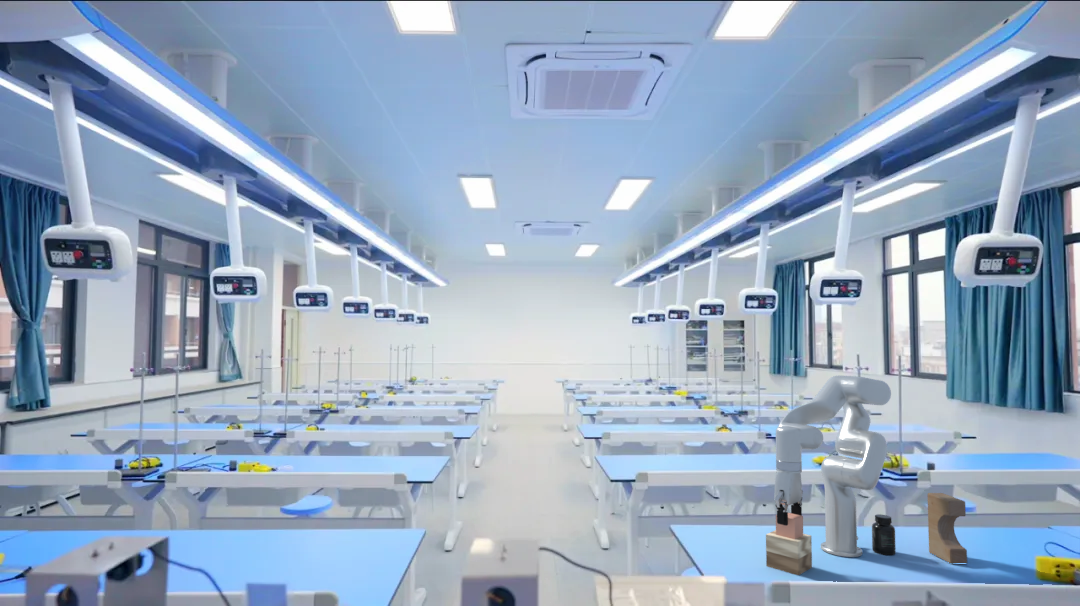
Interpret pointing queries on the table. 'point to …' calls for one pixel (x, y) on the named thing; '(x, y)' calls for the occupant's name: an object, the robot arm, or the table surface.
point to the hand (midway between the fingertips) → (789, 521)
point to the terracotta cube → (791, 527)
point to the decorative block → (945, 527)
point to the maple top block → (788, 545)
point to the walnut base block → (789, 563)
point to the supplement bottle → (883, 536)
